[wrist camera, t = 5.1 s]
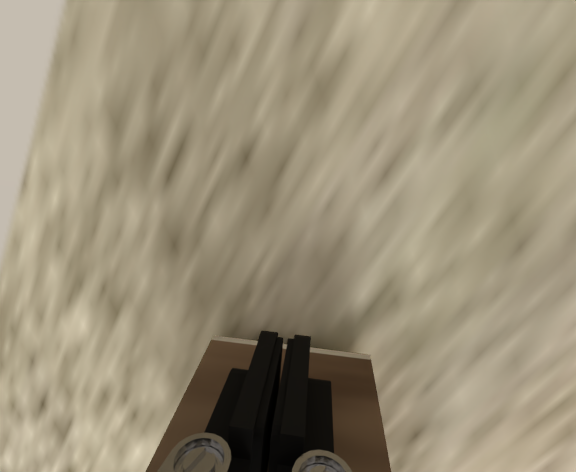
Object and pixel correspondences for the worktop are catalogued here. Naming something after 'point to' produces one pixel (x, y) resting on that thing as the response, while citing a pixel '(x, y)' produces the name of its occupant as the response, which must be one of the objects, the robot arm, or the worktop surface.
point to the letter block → (322, 365)
